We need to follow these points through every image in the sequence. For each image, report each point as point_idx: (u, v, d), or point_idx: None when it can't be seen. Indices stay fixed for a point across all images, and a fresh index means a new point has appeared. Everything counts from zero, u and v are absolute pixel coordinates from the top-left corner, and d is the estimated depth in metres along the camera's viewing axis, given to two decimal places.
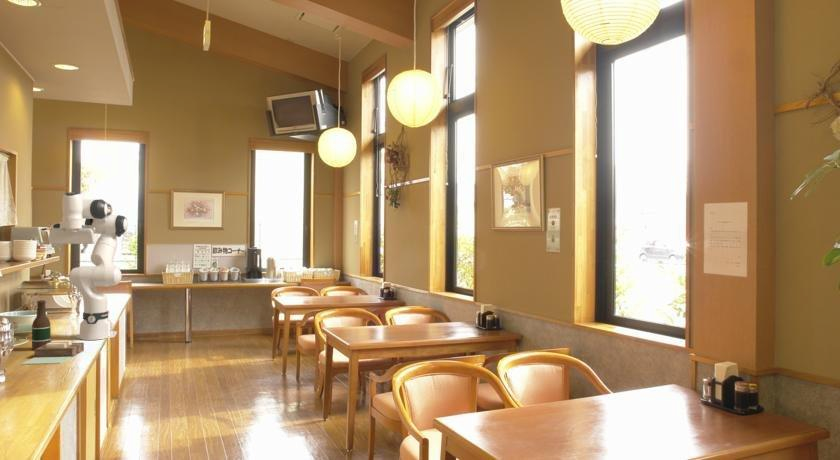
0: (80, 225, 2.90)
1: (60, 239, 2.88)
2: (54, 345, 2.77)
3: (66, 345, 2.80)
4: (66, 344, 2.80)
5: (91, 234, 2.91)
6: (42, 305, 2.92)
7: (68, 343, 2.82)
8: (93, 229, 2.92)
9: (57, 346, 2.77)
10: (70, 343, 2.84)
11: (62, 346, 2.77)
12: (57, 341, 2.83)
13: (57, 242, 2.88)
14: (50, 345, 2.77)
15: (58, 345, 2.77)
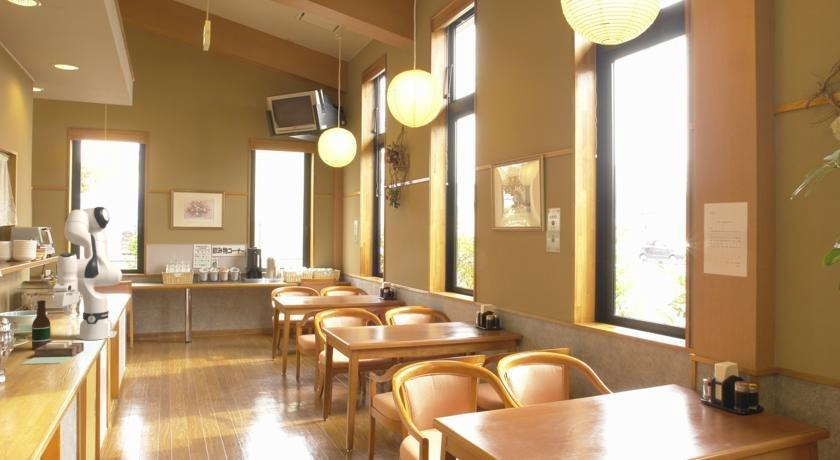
0: None
1: (67, 301, 2.85)
2: (54, 345, 2.77)
3: (66, 345, 2.80)
4: (66, 344, 2.80)
5: (78, 293, 2.99)
6: (42, 305, 2.92)
7: (68, 343, 2.82)
8: None
9: (57, 346, 2.77)
10: (70, 343, 2.84)
11: (62, 346, 2.77)
12: (57, 341, 2.83)
13: (65, 304, 2.84)
14: (50, 345, 2.77)
15: (58, 345, 2.77)
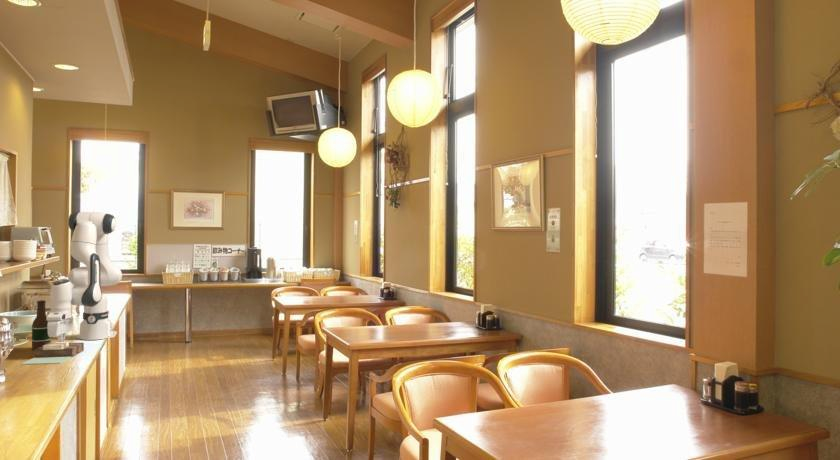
0: None
1: (61, 330, 2.79)
2: (51, 346, 2.74)
3: (63, 346, 2.77)
4: (63, 345, 2.77)
5: None
6: (42, 305, 2.92)
7: (65, 344, 2.79)
8: None
9: (54, 347, 2.74)
10: (67, 344, 2.81)
11: (59, 347, 2.74)
12: (54, 342, 2.79)
13: (59, 334, 2.77)
14: (47, 346, 2.73)
15: (55, 346, 2.74)
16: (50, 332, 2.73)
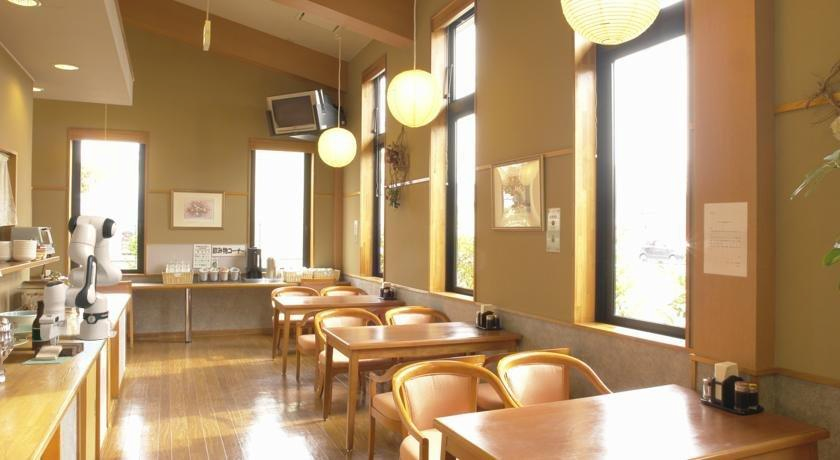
0: None
1: (54, 333, 2.72)
2: (44, 358, 2.67)
3: (57, 355, 2.70)
4: (57, 354, 2.70)
5: (66, 322, 2.85)
6: (42, 305, 2.92)
7: (58, 351, 2.72)
8: None
9: (48, 358, 2.68)
10: (61, 349, 2.74)
11: (53, 358, 2.68)
12: (47, 348, 2.72)
13: (53, 337, 2.70)
14: (40, 358, 2.67)
15: (48, 358, 2.68)
16: (43, 335, 2.66)
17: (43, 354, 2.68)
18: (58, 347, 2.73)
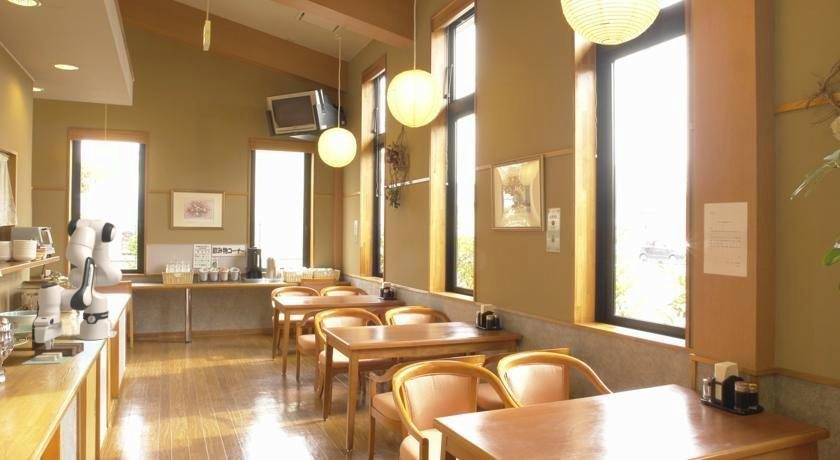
0: None
1: (49, 335, 2.67)
2: (44, 358, 2.67)
3: (56, 357, 2.70)
4: (56, 356, 2.70)
5: None
6: None
7: (58, 355, 2.72)
8: None
9: (47, 359, 2.67)
10: (61, 355, 2.74)
11: (52, 359, 2.68)
12: (47, 353, 2.73)
13: (47, 339, 2.65)
14: (40, 358, 2.67)
15: (48, 358, 2.67)
16: (37, 338, 2.61)
17: (43, 355, 2.68)
18: (59, 353, 2.74)
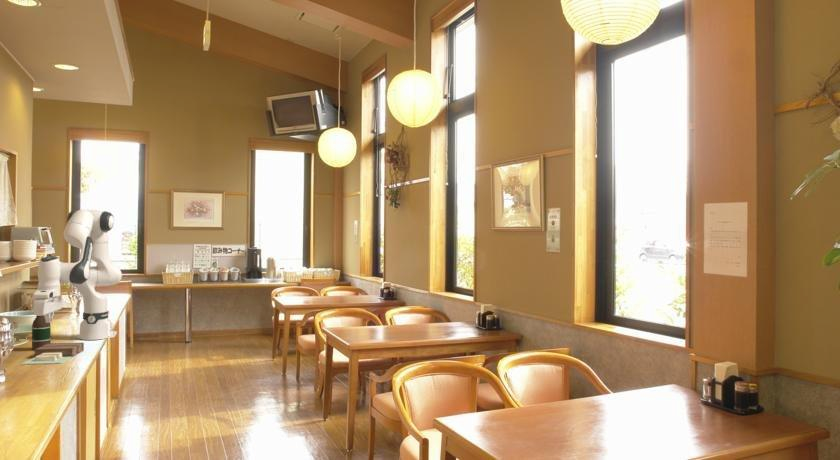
0: None
1: (48, 309, 2.66)
2: (44, 358, 2.67)
3: (56, 357, 2.70)
4: (56, 356, 2.70)
5: (61, 299, 2.80)
6: None
7: (58, 355, 2.72)
8: None
9: (47, 359, 2.67)
10: (61, 355, 2.74)
11: (52, 359, 2.68)
12: (47, 353, 2.73)
13: (47, 312, 2.65)
14: (40, 358, 2.67)
15: (48, 358, 2.67)
16: (37, 310, 2.61)
17: (43, 355, 2.68)
18: (59, 353, 2.74)
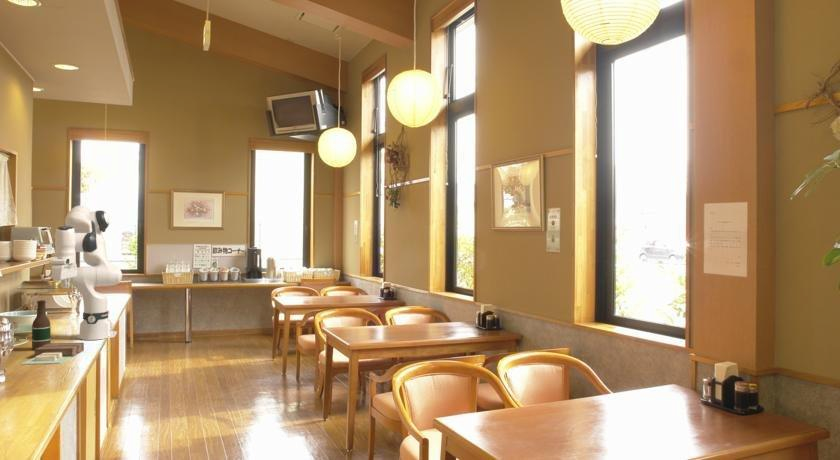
0: None
1: (65, 274, 2.83)
2: (44, 358, 2.67)
3: (56, 357, 2.70)
4: (56, 356, 2.70)
5: (76, 267, 2.97)
6: (42, 305, 2.92)
7: (58, 355, 2.72)
8: None
9: (47, 359, 2.67)
10: (61, 355, 2.74)
11: (52, 359, 2.68)
12: (47, 353, 2.73)
13: (63, 278, 2.82)
14: (40, 358, 2.67)
15: (48, 358, 2.67)
16: (54, 275, 2.77)
17: (43, 355, 2.68)
18: (59, 353, 2.74)
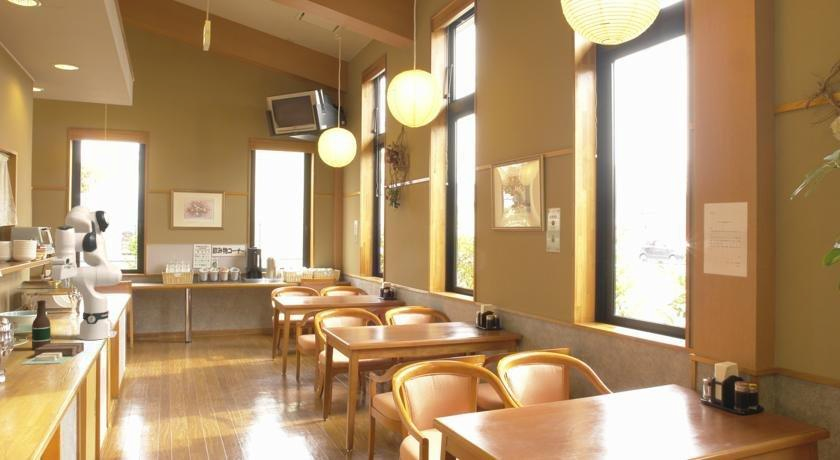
0: None
1: (65, 274, 2.83)
2: (44, 358, 2.67)
3: (56, 357, 2.70)
4: (56, 356, 2.70)
5: (76, 267, 2.97)
6: (42, 305, 2.92)
7: (58, 355, 2.72)
8: None
9: (47, 359, 2.67)
10: (61, 355, 2.74)
11: (52, 359, 2.68)
12: (47, 353, 2.73)
13: (63, 278, 2.82)
14: (40, 358, 2.67)
15: (48, 358, 2.67)
16: (54, 275, 2.77)
17: (43, 355, 2.68)
18: (59, 353, 2.74)
